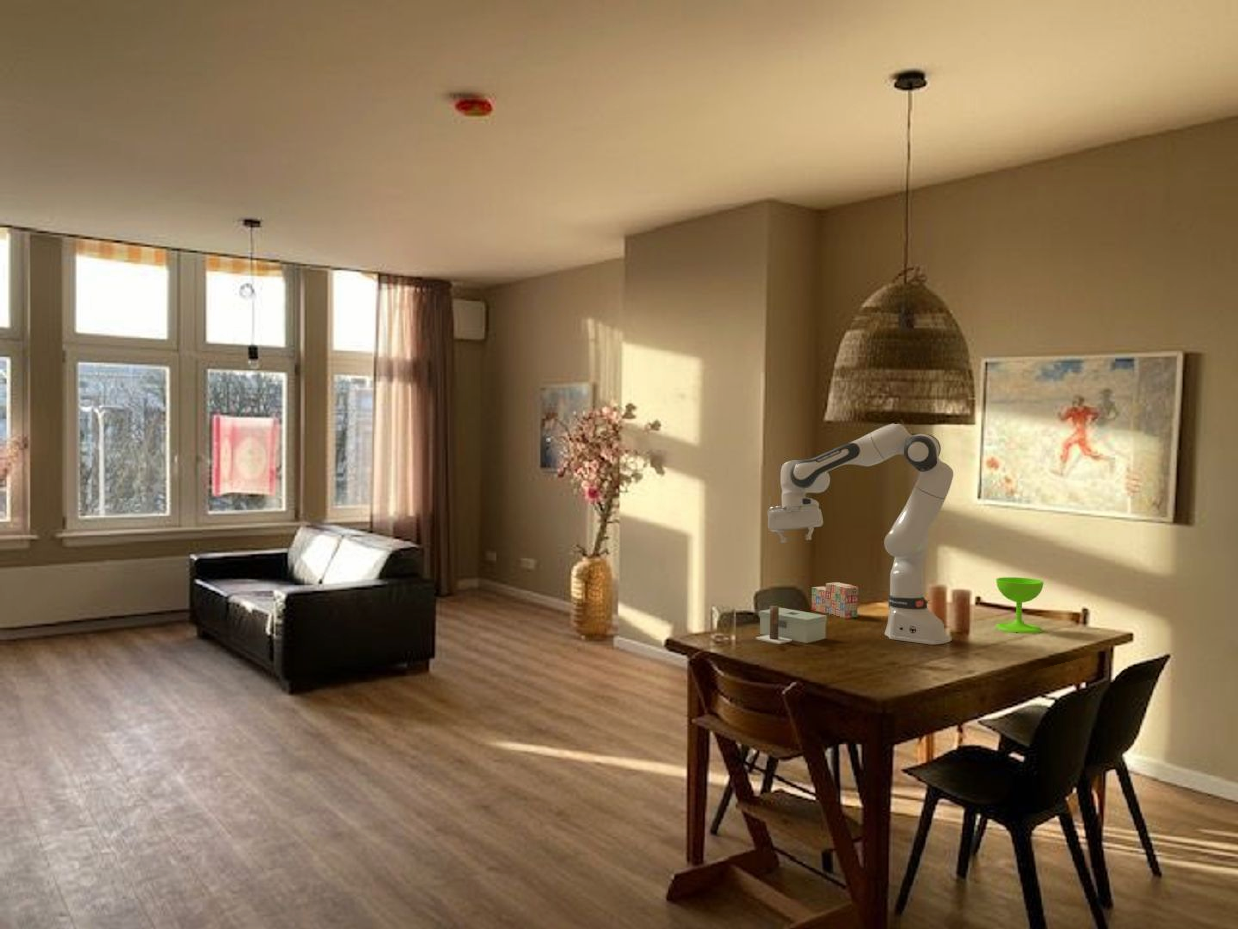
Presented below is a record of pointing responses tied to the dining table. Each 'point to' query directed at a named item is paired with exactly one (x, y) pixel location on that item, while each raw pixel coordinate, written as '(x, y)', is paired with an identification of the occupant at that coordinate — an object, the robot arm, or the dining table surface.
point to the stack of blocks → (836, 599)
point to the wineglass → (1019, 601)
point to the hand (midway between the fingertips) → (796, 540)
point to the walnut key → (774, 622)
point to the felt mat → (777, 641)
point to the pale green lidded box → (795, 625)
